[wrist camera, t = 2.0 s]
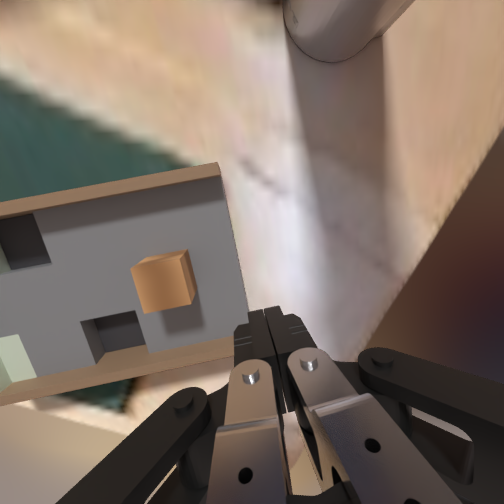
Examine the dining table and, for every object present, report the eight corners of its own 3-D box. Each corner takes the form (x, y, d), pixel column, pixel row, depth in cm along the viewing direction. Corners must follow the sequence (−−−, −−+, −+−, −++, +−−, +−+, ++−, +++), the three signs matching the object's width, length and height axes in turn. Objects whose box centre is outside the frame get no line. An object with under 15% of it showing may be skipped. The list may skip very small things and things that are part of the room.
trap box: (219, 167, 25) (217, 161, 21) (252, 327, 29) (256, 351, 25) (-47, 217, 24) (-108, 222, 20) (25, 376, 29) (-12, 408, 24)
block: (187, 248, 24) (179, 258, 20) (197, 287, 25) (191, 304, 21) (146, 257, 24) (130, 268, 20) (157, 295, 25) (144, 313, 21)
